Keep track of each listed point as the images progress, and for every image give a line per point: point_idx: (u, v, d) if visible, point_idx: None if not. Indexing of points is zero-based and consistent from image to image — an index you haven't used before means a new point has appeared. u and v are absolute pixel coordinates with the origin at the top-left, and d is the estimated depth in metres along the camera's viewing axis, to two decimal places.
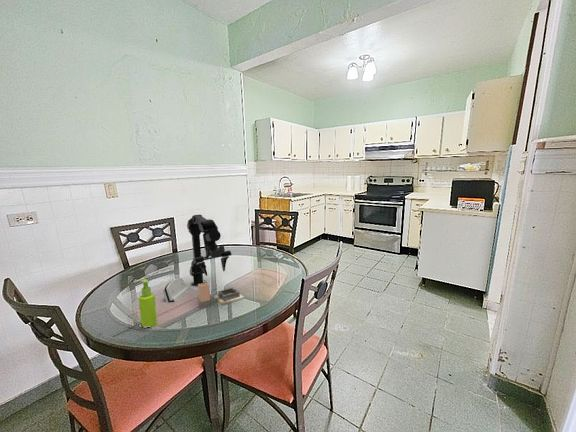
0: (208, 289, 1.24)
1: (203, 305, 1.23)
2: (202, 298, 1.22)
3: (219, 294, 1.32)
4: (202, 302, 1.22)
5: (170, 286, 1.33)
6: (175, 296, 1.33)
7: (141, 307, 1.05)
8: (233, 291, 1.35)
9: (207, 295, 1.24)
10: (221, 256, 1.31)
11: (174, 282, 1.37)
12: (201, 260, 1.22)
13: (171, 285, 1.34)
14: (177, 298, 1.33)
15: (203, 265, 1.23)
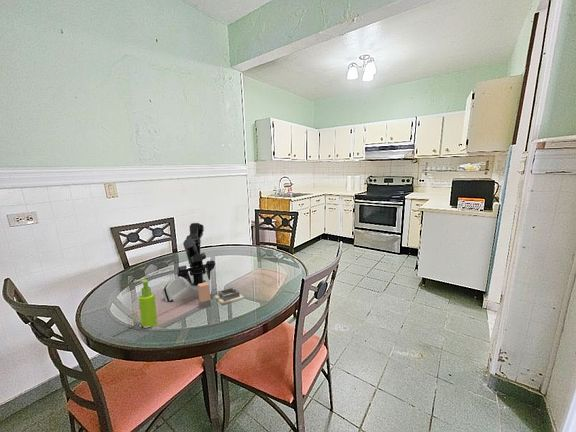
0: (208, 289, 1.24)
1: (203, 305, 1.23)
2: (202, 298, 1.22)
3: (219, 294, 1.32)
4: (202, 302, 1.22)
5: (170, 286, 1.33)
6: (174, 296, 1.33)
7: (141, 307, 1.05)
8: (233, 291, 1.35)
9: (207, 295, 1.24)
10: (205, 266, 1.34)
11: (174, 282, 1.37)
12: (184, 268, 1.26)
13: (171, 285, 1.34)
14: (176, 298, 1.33)
15: (187, 273, 1.26)
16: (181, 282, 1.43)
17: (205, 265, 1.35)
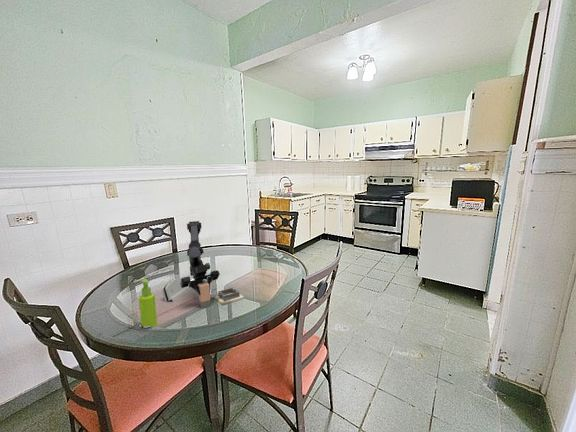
0: (208, 289, 1.24)
1: (203, 305, 1.23)
2: (202, 298, 1.22)
3: (219, 294, 1.32)
4: (202, 302, 1.22)
5: (169, 286, 1.34)
6: (174, 296, 1.33)
7: (141, 307, 1.05)
8: (233, 291, 1.35)
9: (207, 295, 1.24)
10: (205, 278, 1.29)
11: (174, 282, 1.38)
12: (187, 279, 1.22)
13: (171, 285, 1.35)
14: (176, 298, 1.33)
15: (195, 284, 1.23)
16: None
17: (209, 275, 1.30)
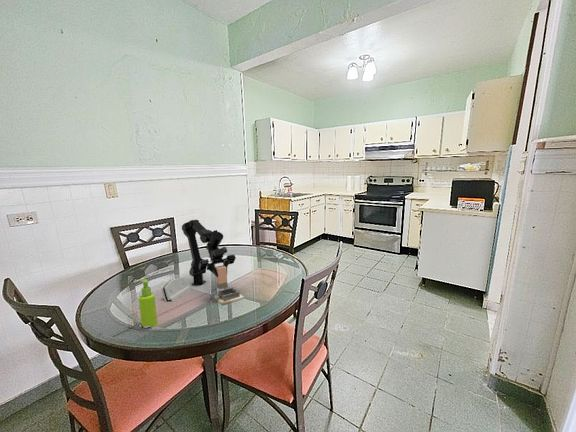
0: (225, 271, 1.28)
1: (220, 287, 1.27)
2: (219, 280, 1.27)
3: (219, 294, 1.32)
4: (219, 284, 1.27)
5: (169, 285, 1.34)
6: (173, 295, 1.34)
7: (141, 307, 1.05)
8: (233, 291, 1.35)
9: (224, 278, 1.28)
10: (222, 261, 1.33)
11: (174, 281, 1.38)
12: (206, 262, 1.27)
13: (170, 284, 1.35)
14: (175, 298, 1.33)
15: (213, 266, 1.28)
16: (182, 282, 1.43)
17: (226, 259, 1.35)
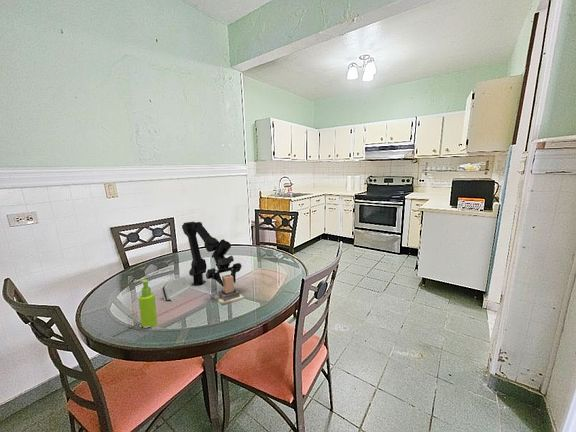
0: (232, 281, 1.31)
1: None
2: (227, 289, 1.30)
3: (219, 294, 1.32)
4: (227, 293, 1.30)
5: (168, 285, 1.34)
6: (173, 295, 1.34)
7: (141, 307, 1.05)
8: None
9: (231, 287, 1.31)
10: (230, 269, 1.36)
11: (174, 281, 1.39)
12: (213, 271, 1.29)
13: (170, 284, 1.36)
14: (174, 297, 1.34)
15: (218, 275, 1.30)
16: (182, 281, 1.44)
17: (232, 267, 1.38)
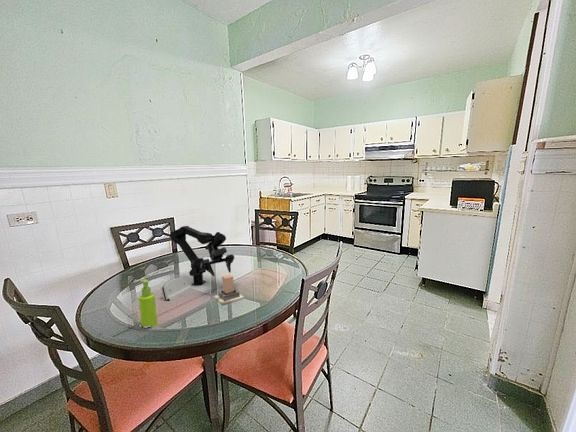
0: (232, 281, 1.31)
1: None
2: (227, 289, 1.30)
3: (219, 294, 1.32)
4: (227, 293, 1.30)
5: (168, 285, 1.35)
6: (172, 295, 1.34)
7: (141, 307, 1.05)
8: None
9: (231, 287, 1.31)
10: (225, 260, 1.45)
11: (174, 281, 1.39)
12: (207, 261, 1.36)
13: (170, 284, 1.36)
14: (173, 297, 1.34)
15: (209, 266, 1.36)
16: (183, 281, 1.44)
17: (225, 259, 1.45)
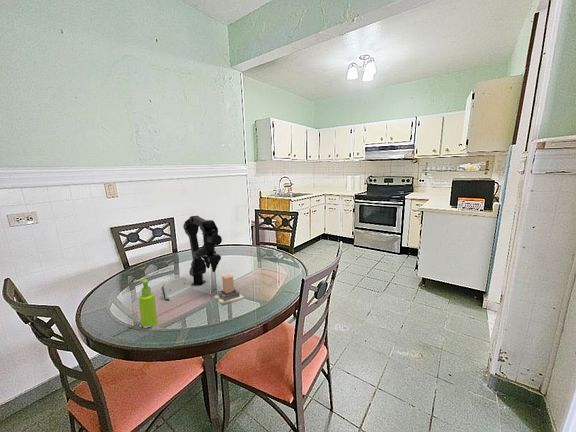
0: (232, 281, 1.31)
1: None
2: (227, 289, 1.30)
3: (219, 294, 1.32)
4: (227, 293, 1.30)
5: (168, 284, 1.35)
6: (171, 295, 1.34)
7: (141, 307, 1.05)
8: None
9: (231, 287, 1.31)
10: None
11: (174, 281, 1.39)
12: None
13: (170, 284, 1.36)
14: (173, 297, 1.34)
15: None
16: (183, 281, 1.44)
17: None
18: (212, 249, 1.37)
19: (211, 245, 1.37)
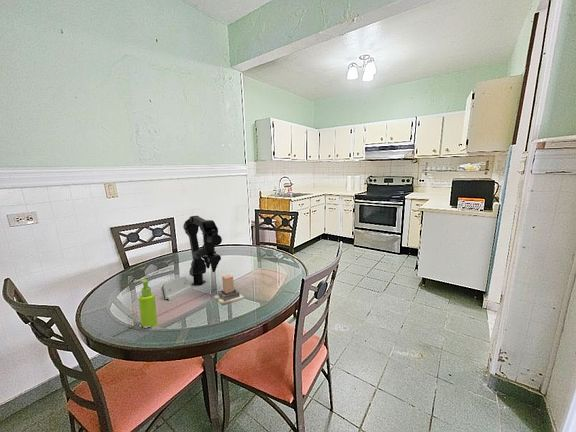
0: (232, 281, 1.31)
1: None
2: (227, 289, 1.30)
3: (219, 294, 1.32)
4: (227, 293, 1.30)
5: (168, 284, 1.36)
6: (171, 295, 1.35)
7: (141, 307, 1.05)
8: None
9: (231, 287, 1.31)
10: None
11: (174, 280, 1.39)
12: None
13: (169, 283, 1.37)
14: (173, 297, 1.34)
15: None
16: (183, 281, 1.44)
17: None
18: (212, 249, 1.37)
19: (211, 245, 1.37)
